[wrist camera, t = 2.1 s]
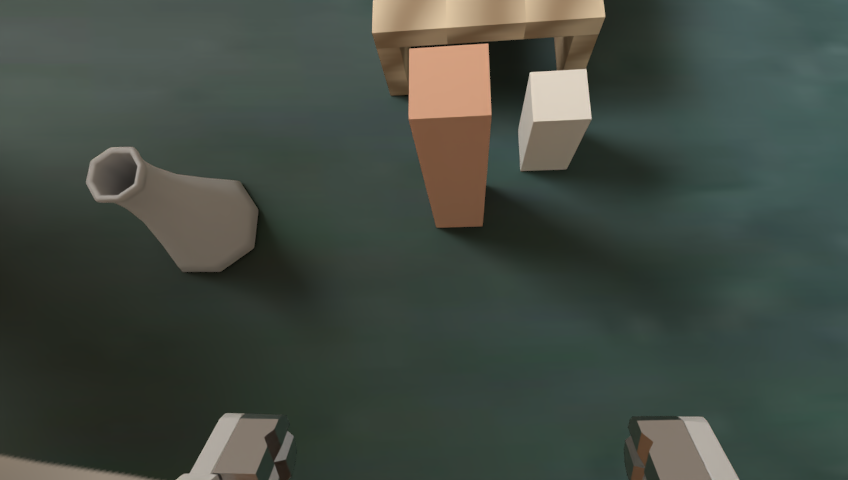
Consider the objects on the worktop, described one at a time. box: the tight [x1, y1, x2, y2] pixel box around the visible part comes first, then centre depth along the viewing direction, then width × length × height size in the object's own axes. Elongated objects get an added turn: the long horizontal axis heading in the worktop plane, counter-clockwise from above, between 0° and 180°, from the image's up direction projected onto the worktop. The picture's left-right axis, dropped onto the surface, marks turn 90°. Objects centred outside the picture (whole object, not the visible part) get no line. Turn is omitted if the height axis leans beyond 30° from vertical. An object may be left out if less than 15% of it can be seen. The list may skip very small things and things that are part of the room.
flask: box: [86, 147, 259, 272], centre depth 30 cm, size 7×7×10 cm
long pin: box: [409, 44, 491, 228], centre depth 26 cm, size 3×3×15 cm
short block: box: [518, 69, 592, 171], centre depth 30 cm, size 3×3×7 cm
